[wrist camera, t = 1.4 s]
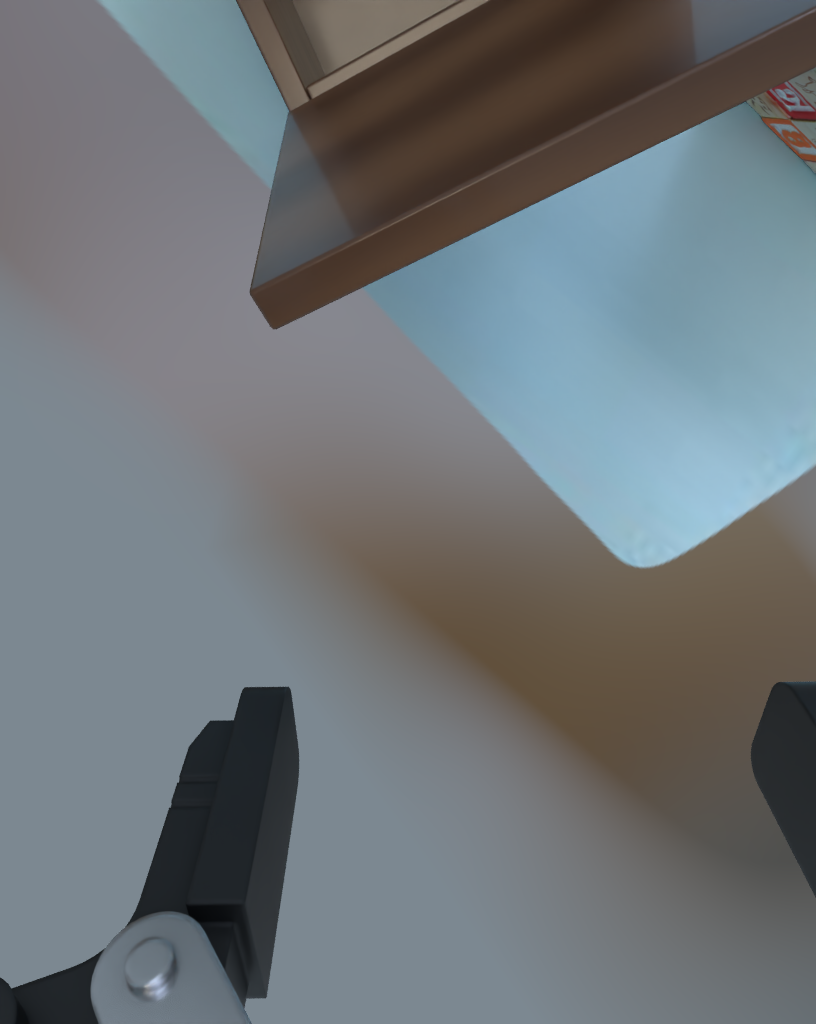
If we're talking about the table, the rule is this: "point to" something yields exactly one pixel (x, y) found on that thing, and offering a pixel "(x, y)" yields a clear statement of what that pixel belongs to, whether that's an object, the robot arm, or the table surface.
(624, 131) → the lid
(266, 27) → the chest
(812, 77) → the stack of blocks
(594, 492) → the table surface
